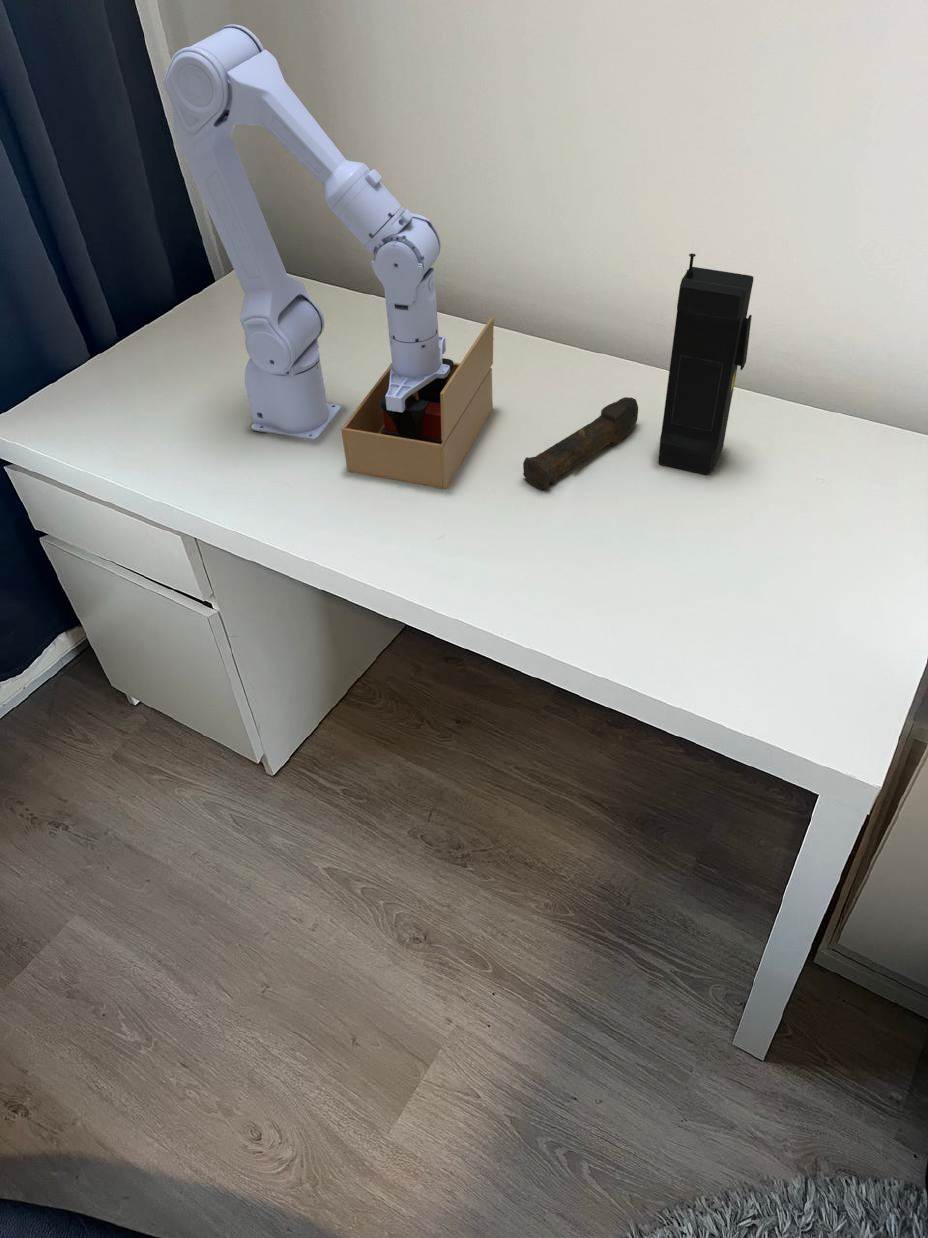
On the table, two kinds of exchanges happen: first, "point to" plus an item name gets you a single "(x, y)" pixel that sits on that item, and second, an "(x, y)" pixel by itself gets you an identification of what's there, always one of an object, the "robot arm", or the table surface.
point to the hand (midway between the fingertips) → (421, 430)
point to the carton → (411, 456)
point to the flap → (466, 379)
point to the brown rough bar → (582, 443)
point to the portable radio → (704, 366)
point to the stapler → (430, 424)
